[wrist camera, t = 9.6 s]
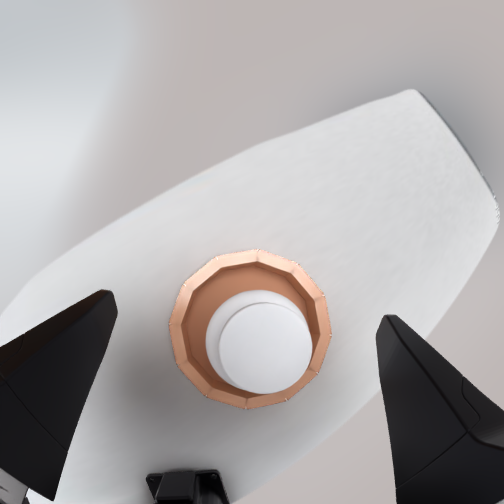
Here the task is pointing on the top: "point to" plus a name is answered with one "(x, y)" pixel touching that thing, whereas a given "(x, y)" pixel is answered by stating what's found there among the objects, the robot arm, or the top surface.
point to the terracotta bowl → (224, 287)
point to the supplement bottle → (259, 342)
